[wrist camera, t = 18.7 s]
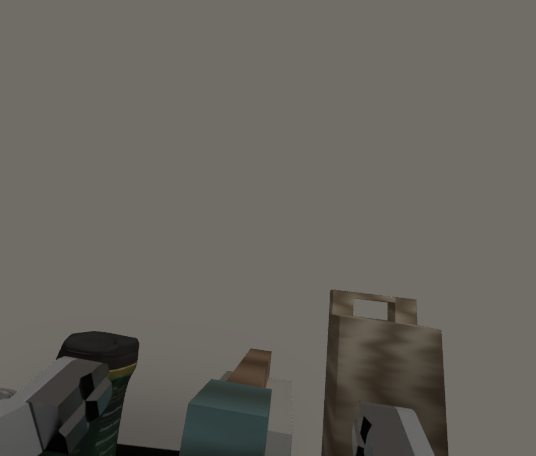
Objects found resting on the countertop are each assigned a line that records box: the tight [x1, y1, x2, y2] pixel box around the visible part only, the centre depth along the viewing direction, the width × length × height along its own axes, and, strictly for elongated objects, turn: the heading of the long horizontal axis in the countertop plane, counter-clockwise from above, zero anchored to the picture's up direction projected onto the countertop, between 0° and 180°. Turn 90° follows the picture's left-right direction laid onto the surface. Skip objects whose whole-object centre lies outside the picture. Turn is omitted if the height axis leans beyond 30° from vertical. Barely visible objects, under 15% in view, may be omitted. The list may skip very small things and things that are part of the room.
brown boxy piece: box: [322, 290, 448, 456], centre depth 33 cm, size 12×9×28 cm
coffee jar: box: [38, 331, 139, 456], centre depth 34 cm, size 10×8×19 cm
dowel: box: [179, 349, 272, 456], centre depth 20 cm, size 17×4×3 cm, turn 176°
